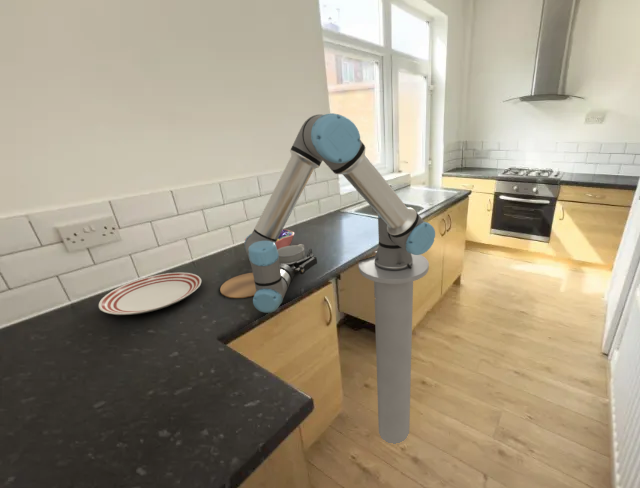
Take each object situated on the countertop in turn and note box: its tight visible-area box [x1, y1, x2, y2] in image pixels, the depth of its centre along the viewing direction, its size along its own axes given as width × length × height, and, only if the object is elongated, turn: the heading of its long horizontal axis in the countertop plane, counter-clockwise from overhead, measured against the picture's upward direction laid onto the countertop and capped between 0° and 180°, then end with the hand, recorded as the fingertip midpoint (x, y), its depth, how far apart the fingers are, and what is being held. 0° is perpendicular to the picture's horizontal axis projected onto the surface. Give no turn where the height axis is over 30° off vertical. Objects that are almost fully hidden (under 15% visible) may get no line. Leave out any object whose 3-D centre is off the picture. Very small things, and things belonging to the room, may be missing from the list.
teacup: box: [277, 243, 306, 266], centre depth 122 cm, size 14×11×8 cm
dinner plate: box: [98, 272, 202, 316], centre depth 103 cm, size 27×27×3 cm
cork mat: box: [219, 272, 256, 299], centre depth 111 cm, size 18×18×1 cm
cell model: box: [244, 228, 295, 250], centre depth 134 cm, size 17×20×11 cm
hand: (293, 252), depth 122 cm, fingers open, 13 cm apart
